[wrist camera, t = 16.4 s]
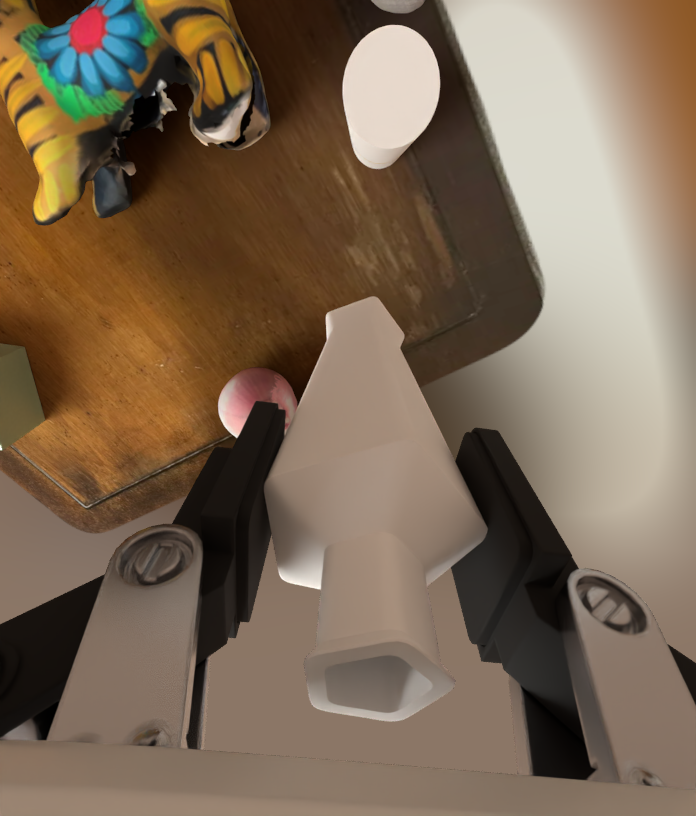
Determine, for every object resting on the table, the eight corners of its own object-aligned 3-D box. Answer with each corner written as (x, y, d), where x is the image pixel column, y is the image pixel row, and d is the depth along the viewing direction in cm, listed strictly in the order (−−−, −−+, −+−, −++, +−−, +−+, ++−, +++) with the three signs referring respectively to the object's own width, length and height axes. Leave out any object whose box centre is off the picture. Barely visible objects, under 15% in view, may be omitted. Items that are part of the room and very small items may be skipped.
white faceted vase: (335, 393, 20) (294, 772, 7) (302, 314, 18) (155, 636, 5) (421, 366, 19) (560, 738, 6) (396, 280, 17) (523, 558, 4)
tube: (417, 133, 30) (460, 83, 17) (380, 181, 32) (392, 170, 18) (377, 87, 29) (389, -5, 15) (340, 140, 30) (322, 97, 17)
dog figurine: (285, 131, 33) (129, -166, 25) (294, 95, 23) (25, -454, 14) (100, 257, 35) (-106, 19, 26) (27, 279, 24) (-362, -111, 16)
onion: (311, 415, 43) (302, 453, 36) (248, 431, 44) (228, 470, 38) (285, 349, 39) (270, 379, 33) (217, 369, 40) (190, 401, 34)
